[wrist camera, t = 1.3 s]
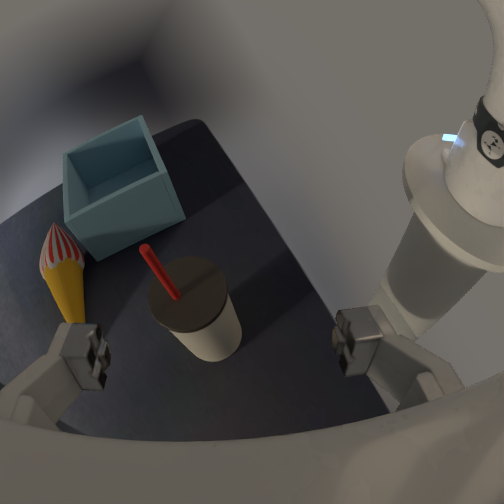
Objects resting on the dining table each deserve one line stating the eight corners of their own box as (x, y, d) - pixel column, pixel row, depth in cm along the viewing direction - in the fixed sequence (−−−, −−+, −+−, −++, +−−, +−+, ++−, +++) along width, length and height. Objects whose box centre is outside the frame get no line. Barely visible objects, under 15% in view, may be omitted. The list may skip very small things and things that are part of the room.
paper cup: (228, 297, 35) (187, 187, 21) (254, 346, 32) (225, 259, 17) (176, 321, 34) (102, 228, 20) (198, 373, 31) (121, 308, 16)
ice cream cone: (98, 365, 36) (62, 237, 42) (121, 349, 34) (80, 211, 40) (58, 372, 31) (28, 233, 37) (77, 356, 28) (43, 205, 34)
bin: (158, 156, 50) (141, 114, 43) (186, 219, 42) (167, 171, 35) (86, 191, 48) (62, 154, 40) (97, 262, 40) (64, 222, 32)
